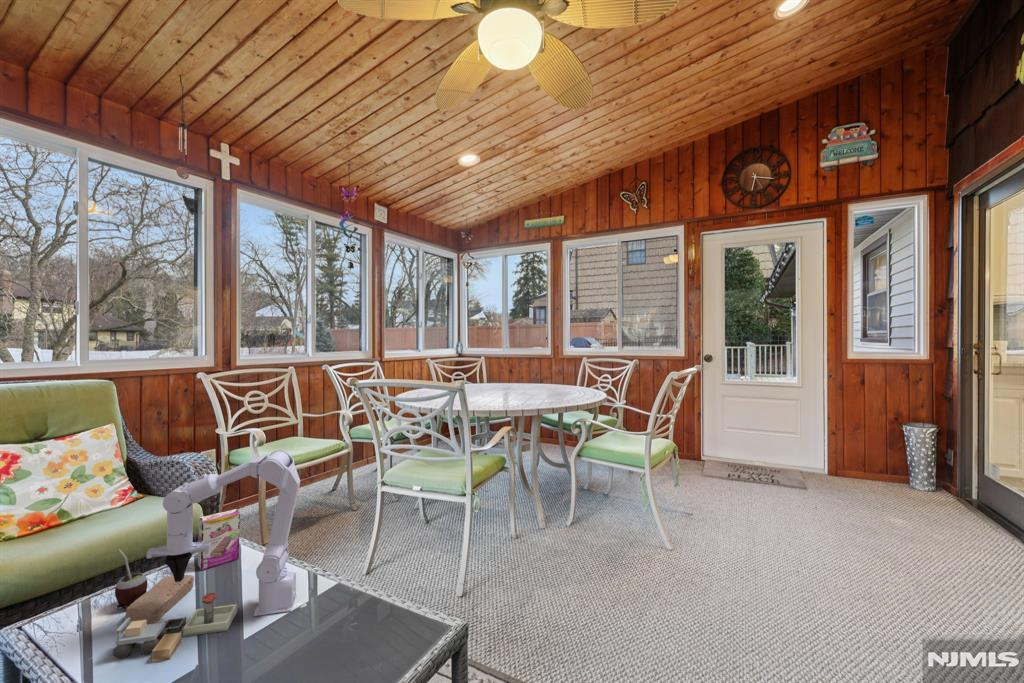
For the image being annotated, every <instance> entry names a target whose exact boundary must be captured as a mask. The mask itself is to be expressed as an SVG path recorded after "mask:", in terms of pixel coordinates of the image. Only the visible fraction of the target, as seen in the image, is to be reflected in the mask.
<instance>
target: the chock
mask: <svg viewBox="0 0 1024 683" xmlns="http://www.w3.org/2000/svg"><path fill="white" fill-rule="evenodd" d="M181 643H182V631H181V632H180V633H172V634H165V635H164V636H163V637H162V639H161V640H160V641H159V643H158V644H157V645H156V647H155V648H154V649H153V651H152V654H151V662H152V663H154V662H155V663H156V662H161V661H167V660H171V657H172V656H173V655H174V653H175V652H176V650H177V649H178V647H179V646H180V645H181Z"/></svg>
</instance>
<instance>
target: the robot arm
mask: <svg viewBox="0 0 1024 683" xmlns="http://www.w3.org/2000/svg"><path fill="white" fill-rule="evenodd" d="M268 455H269V456H268ZM249 476H250V477H253V478H255V479H258V478H261V479H262V480H263V481H266V482H267V483H269V484H271V485H273V486H275V487H276V488H277V489H278V491H279V493H278V497H277V503H276V507H275V512H274V516H273V520H272V524H271V529H270V534H269V538H268V542H267V546H266V548H265V551H264V553H263V556H262V560H261V562H260V563H259V564H258V565H257V567H256V570H255V575H256V578H257V579H258V604H257V606H256V608H255V611H254V612H253V616H254V617H257V616H265V615H273V614H278V613H286V612H291V611H292V609H293V606H294V604H295V601H296V597H297V592H296V591H297V574H296V572H293V571H292V572H291V571H288V568H287V566H286V564H287V562H288V561H289V559H290V552H289V544H290V543H289V542H288V540H289V535H290V530H291V527H292V522H293V517H294V513H295V510H296V504H297V499H298V494H299V491H300V486H301V478H300V476H299V473H298V470H297V468H296V465H295V459H294V457H293V456H292V455H290V453H289V452H287V451H286V450H284V449H283V450H282V449H277V450H273V452H271V453H269V452H268V453H266V454H263V455H259V456H258V457H254V458H253V459H250V460H248V461H246V462H244V463H242V464H240V465H237V466H236V467H233V468H232V469H229V470H227V471H225V472H223V473H221V474H216V473H210V474H208V473H204V474H202V475H200V476H199V478H197V479H196V480H194V481H191V482H185V483H183V484H182V485H180V486H177V487H176V488H175V489H173V490H172V491H171V492H169V493H168V494H167V495H165V497H164V498H163V500H162V507H163V509H164V510H165V511H166V545H162V546H157V547H152V548H149V549H148V550H147V551H146V559H152V558H155V557H156V558H157V557H165V556H166V559H165V560H164V563H165V564H166V566H167V567H168V568H169V570H170V572H171V574H172V576H174V580H175V582H181V581H182V579H183V578H184V575H186V570H187V567H188V564H189V563H190V560H191V558H192V556H193V555H194V554H198V552H205V553H209V551H210V550H211V543H199V541H198V542H196V541H195V542H194V538H193V535H194V530H193V529H194V527H193V526H194V523H193V522H194V519H193V518H194V510H193V509H194V504H197V503H199V502H202V501H204V500H206V499H208V498H210V497H212V496H214V495H216V494H219V493H220V492H221V491H222V489H223V487H224V486H226V485H229V484H231V483H234V482H236V481H239V480H240V479H243V478H246V477H249Z"/></svg>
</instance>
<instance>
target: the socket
mask: <svg viewBox="0 0 1024 683" xmlns="http://www.w3.org/2000/svg"><path fill="white" fill-rule="evenodd" d="M186 624H187V616H185V617H179V618H176V617H175V618H169V619H167V620H166V622H165V627H164V628H166V629H167V634H172V633H180V632H181V633H182V632H183V628H184V627H185V625H186Z"/></svg>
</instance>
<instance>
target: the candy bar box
mask: <svg viewBox="0 0 1024 683" xmlns="http://www.w3.org/2000/svg"><path fill="white" fill-rule="evenodd" d="M240 525H241V513H240V511H239V510H238V509H237V508H235V509H230V510H226V511H222V512H217V513H213V514H208V515H203V516H201V517H198V543H211V550H210V551H209V553H205V552H198V553H197V554H198V555H197V566H198V568H199V569H200V571H203V570H204V571H205V570H207V569H210V568H214V567H217V566H220V565H224V564H227V563H232V562H234V561H237V560H239V558H240Z"/></svg>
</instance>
